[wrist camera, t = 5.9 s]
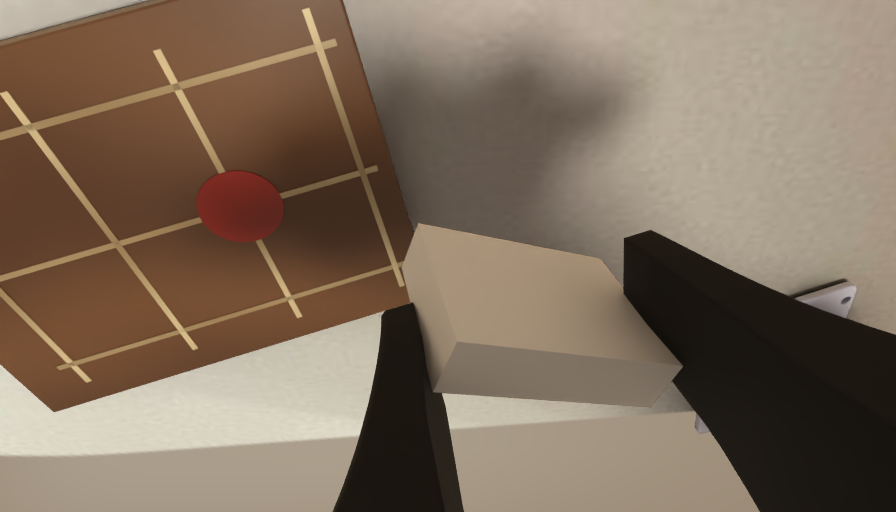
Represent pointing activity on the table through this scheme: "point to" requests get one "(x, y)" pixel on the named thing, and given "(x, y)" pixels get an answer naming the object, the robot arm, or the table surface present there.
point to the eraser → (529, 323)
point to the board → (187, 191)
